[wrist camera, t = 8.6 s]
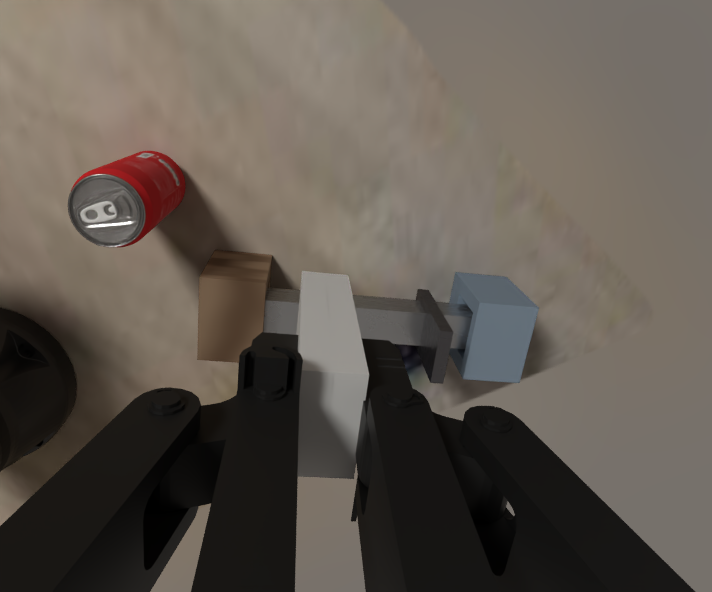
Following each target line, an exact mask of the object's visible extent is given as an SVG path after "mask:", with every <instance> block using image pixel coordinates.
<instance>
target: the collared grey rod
mask: <svg viewBox="0 0 712 592" xmlns="http://www.w3.org/2000/svg"><path fill="white" fill-rule="evenodd" d="M352 296H353V301H354V305H355V310H356V315H357V320H358V324H359V329H360V334H361V338H363V339H377V340H389V341H390V342H391V343H392V344H403V345H415V347H416V349H417V351H418V354H419V356H420V359H421V361H422V363H423V366H424V368H425V371H426V373H427V375H428V378H429V380H430V383H443V381H444V376H445V371H446V366H447V361H448V357H449V352H450V348H456V349H465V348H466V343H467V339H468V334H469V329H470V325H471V320H472V315H473V312H472V311H471V309H470V308H469V307H468V305H466V304H455V303H443V302H435V300H434V298H433V297H432V295H431V293H430V292H429V290H422V289H418V290H417V296H416V300H408V299H397V298H385V297H373V296H362V295H352ZM299 300H300V290H292V289H280V288H269V287H267V291H266V298H265V313H264V328H263V332H267V333H280V334H293V335H296V332H297V322H298V311H299Z"/></svg>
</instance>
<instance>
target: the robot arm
mask: <svg viewBox="0 0 712 592" xmlns="http://www.w3.org/2000/svg"><path fill="white" fill-rule="evenodd" d="M75 398H76V378H75V374H74V370H73V367H72V365H71V362H70V360H69V358H68V356H67V355H66V353H65V351H64V350H63V348H62V347H61V346H60V345H59V343H58V342H57V341H56V340H55V339H54V338H53V337H52V336H51V335H50V334H49V333H48V332H47V331H46V330H45V329H43V328H42V327H41V326H39V325H38V324H36V323H35V322H33V321H32V320H30V319H28V318H26V317H24V316H22V315H20V314H18V313H15V312H13V311H10V310H7V309H4V308H0V472H1V470H3V469H4V468H6V467H8V466H10V465H11V464H13V463H15V462H16V461H18V460H19V459H20V458H21V457H23V456H25V455H28V454H30V453H32V452H33V451H35V450H37V449H39V448H40V447H42V446H43V445H44V444H46V443H47V442H48V441H49V440H50V439H51V438H52V437H53V436H54V435H55V434H56V433H57V432H58V430H59V429H60V427H61V426H62V425H63V423H64V422H65V421H66V419H67V418H68V416H69V415H70V413H71V411H72V409H73V406H74V403H75ZM356 463H357V471H358V478H357V484H356V491H355V497H354V504H353V511H352V517H351V521H356V518H357V516H358V525H359V534H360V544H361V552H362V561H363V571H364V579H365V589H366V592H695V591H694V590H693V589H692V588H691V587H690V586H689V585H688V584H687V583H686V582H685V581H684V580H683V579H682V578H681V577H680V576H679V575H678V574H677V573H676V572H675V571H674V570H673V569H672V568H670V566H669V565H668V564H667V563H666V562H664V561H663V560H662V559H661V558H660V557H659V556H658V555H657V554H656V553H655V552H654V551H653V550H652V549H651V548H650V547H649V546H648V545H647V544H646V543H645V542H644V541H643V540H642V539H641V538H640V537H639V536H638V535H637V534H636V533H635V532H634V531H633V530H632V529H631V528H630V527H629V526H628V525H627V524H626V523H625V522H624V521H623V520H622V519H621V518H620V517H619V516H618V515H617V514H616V513H615V512H614V511H613V510H612V509H611V508H610V507H608V505H607V504H606V503H605V502H604V501H602V500H601V499H600V498H599V497H598V496H597V495H596V494H595V493H594V492H593V491H592V490H591V489H590V488H589V487H588V486H587V485H586V484H585V483H584V482H583V481H582V480H581V479H580V478H579V477H578V476H577V475H576V474H575V473H574V472H573V471H572V470H571V469H570V468H569V467H568V466H567V465H566V464H565V463H564V462H563V461H562V460H561V459H560V458H559V457H558V456H557V455H556V454H555V453H554V452H553V451H552V450H551V449H550V448H549V447H548V446H547V445H546V444H545V443H543V442H542V441H541V440H540V439H539V438H538V437H537V436H536V435H535V434H534V433H533V432H532V431H531V430H530V429H529V428H528V427H527V426H526V425H525V424H524V423H523V422H522V421H521V420H520V419H519V418H517V417H516V416H515V415H513V414H512V413H509V412H507V411H505V410H503V409H501V408H498V407H496V408H495V407H494V406H476V407H471V408H469V409H468V410H467V411H466V412H465V414H464V419H463V421H461V420H456V419H453V418H449V417H445V416H442V415H439V414H436V413H434V412H432V411H431V408H430V405H429V403H428V401H427V399H426V398H425V396H424V395H423V394H421V393H420V392H418V391H417V390H415V389H413V388H412V385H411V382H410V380H409V377H408V374H407V371H406V368H405V365H404V362H403V361H402V356H401V354H400V351H399V349H398V348H397V347H396V346H395V345H394V344H392V343H391V342H390V341H389V340H377V339H363V338H361V334H360V329H359V324H358V320H357V315H356V310H355V305H354V301H353V296H352V291H351V286H350V282H349V277H348V275H341V274H330V273H319V272H308V271H302V278H301V289H300V300H299V311H298V322H297V332H296V335H293V334H280V333H267V332H262V333H260V334H259V335H258V336H257V337H256V338H254V339H253V340H252V345H251V346H250V347H248V348H246V349H244V350H243V351H242V352H241V354H240V355H239V372H238V390H237V395H236V396H234V397H233V398H231V399H229V400H227V401H224V402H221V403H216V404H211V405H203V406H201V404H200V401H199V398H198V397H197V396H196V395H194V394H193V393H192V392H189V391H186V390H183V389H177V388H159V389H155V390H152V391H149V392H146V393H143V394H142V395H140V396H139V397H137V398H135V399H134V400H133V401H132V402H131V403H130V404H129V405H128V406H127V407H126V408H125V409H124V410H123V411H122V412H120V413H119V414H118V415H117V416H116V417H115V418H114V419H113V420H112V421H111V422H110V423H109V424H108V425H107V426H106V427H105V428H104V429H103V430H101V431H100V432H99V433H98V434H97V435H96V436H95V437H94V438H93V439H92V440H91V441H90V442H89V443H88V444H87V445H86V446H85V447H83V448H82V449H81V450H80V451H79V452H78V453H77V454H76V455H75V456H74V457H73V458H72V459H71V460H70V461H69V462H68V463H67V464H66V465H64V466H63V467H62V468H61V469H60V470H59V471H58V472H57V473H56V474H55V475H54V476H53V477H52V478H51V479H50V480H49V481H48V482H46V483H45V484H44V485H43V486H42V487H41V488H40V489H39V490H38V491H37V492H36V493H35V494H34V495H33V496H32V497H31V498H30V499H29V500H27V501H26V502H25V503H24V504H23V505H22V506H21V507H20V508H19V509H18V510H17V511H16V512H15V513H14V514H13V515H12V516H11V517H9V518H8V519H7V520H6V521H5V522H4V523H3V524H2V525H1V526H0V592H150V591H151V589H152V587H153V586H154V584H155V583H156V581H157V579H158V577H159V576H160V574H161V572H162V571H163V569H164V567H165V566H166V564H167V563H168V561H169V559H170V557H171V556H172V554H173V553H174V551H175V550H176V548H177V546H178V545H179V543H180V541H181V540H182V538H183V536H184V535H185V533H186V531H187V530H188V528H189V526H190V525H191V523H192V521H193V520H194V518H195V516H196V513H197V510H198V506H200V505H205V504H210V503H211V507H210V512H209V516H208V521H207V525H206V529H205V534H204V538H203V542H202V547H201V551H200V555H199V560H198V564H197V569H196V573H195V577H194V581H193V586H192V590H191V592H295V558H296V518H297V517H296V515H297V477H298V476H303V477H325V478H326V477H327V478H348V479H354V473H355V467H356ZM507 501H508V502H509V503H510V505H511V506H512V508H513V510H514V513H515V516H513V515H512V514H511V513H510V512H509V510H508V509H507V508H506V505H507Z"/></svg>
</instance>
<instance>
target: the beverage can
mask: <svg viewBox="0 0 712 592" xmlns="http://www.w3.org/2000/svg"><path fill="white" fill-rule="evenodd" d="M184 194H185V179H184V176H183V173H182V171H181V169H180V168H179V166H178V165H177V164H176V163H175V162H174V161H173V160H172V159H171V158H169V157H168V156H166V155H164V154H162V153H159V152H155V151H143V152H139V153H136V154H133V155H131V156H128V157H125V158H123V159H120V160H118V161H115V162H112V163H110V164H107V165H104V166H102V167H99V168H96V169H94V170H91V171H89V172H87V173H85V174H84V175H82V176H81V177H80V178H79V179H78V180H77V181H76V182H75V184H74V186H73V188H72V190H71V193H70V195H69V199H68V212H69V216H70V219H71V221H72V223H73V225H74V227H75V228H76V229H77V231H78V232H79V233H80V234H81V235H82V236H83V237H85V238H86V239H87V240H89V241H91V242H92V243H94V244H96V245H99V246H104V247H125V246H129V245H132V244H134V243H136V242H138V241H139V240H140V239H142V238H143V237H144V236H145V235H146V234H147V233H148V232H150V231H151V230H152V229H153V228H154V227H155V226H156V225H157V224H158V223H160V222H161V221H162V220H163V219H164V218H165V217H166V216H167V215H168V214H170V213H171V212H172V211H173V210H174V209H175V208H176V207H177V206H178V205H179V204H180V203H181V201H182V199H183V197H184Z"/></svg>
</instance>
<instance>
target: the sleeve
mask: <svg viewBox="0 0 712 592" xmlns="http://www.w3.org/2000/svg"><path fill="white" fill-rule="evenodd" d="M271 265H272V255H266V254H255V253H244V252H233V251H223V250H215V251H214V253H213V255H212V256H211V258H210V260H209V262H208V263H207V265H206V267H205V268H204V270H203V272H202V274H201V275H200V277H199V313H198V359H197V360H209V361H224V362H238V363H239V355H240V354H241V352H242V351H243V350H244V349H246V348H248V347H250V346H251V345H252V340H253V339H254V338H256V337H257V336H258V335H259V334H260V333H262V332H263V328H264V313H265V298H266V291H267V287H269V288H270V279H271Z"/></svg>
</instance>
